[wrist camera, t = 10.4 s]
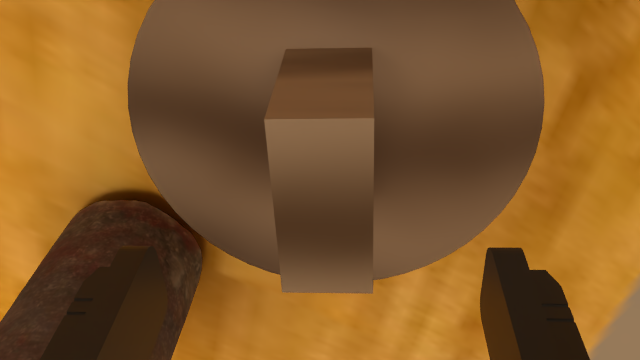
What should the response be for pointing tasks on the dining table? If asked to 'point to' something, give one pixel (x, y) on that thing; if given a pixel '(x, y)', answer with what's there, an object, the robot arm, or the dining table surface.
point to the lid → (336, 128)
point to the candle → (86, 257)
